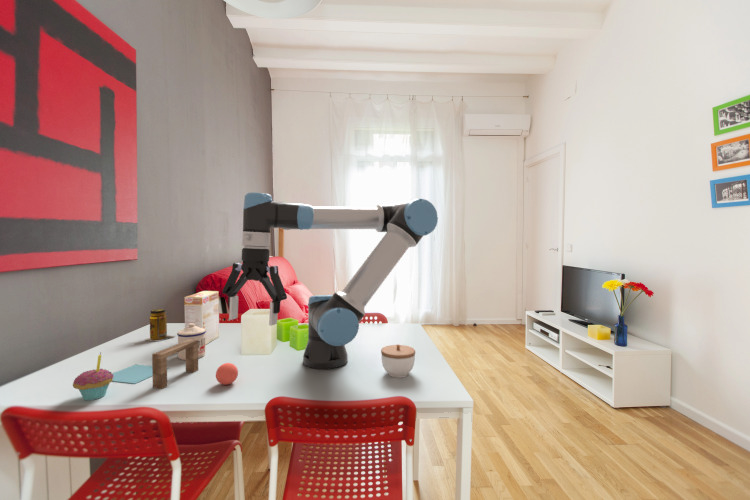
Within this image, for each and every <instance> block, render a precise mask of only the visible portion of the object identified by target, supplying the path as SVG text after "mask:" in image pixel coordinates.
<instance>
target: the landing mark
mask: <svg viewBox="0 0 750 500" xmlns="http://www.w3.org/2000/svg"><path fill="white" fill-rule="evenodd" d="M169 369H170V367H167V370H169ZM112 374H113V376H114V377H113V379H112V382H115V383H124V384H131V385H136V384H138V383H140V382H143V381H145V380H147V379H150V378H151V377H152V378H153V371H152V365H145V364H134V365H133V364H132V365H131V366H127V367H126V368H123V369H121V370H118V371H115V372H113V373H112Z"/></svg>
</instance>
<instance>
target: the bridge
mask: <svg viewBox="0 0 750 500" xmlns="http://www.w3.org/2000/svg"><path fill="white" fill-rule="evenodd" d="M184 349H185V350H186V360H185V372H189V373H196V372H197V371H199V358H198V340H191V339H190V340H187V341H184V342H182V343H179V344H178V343H177V344H174V345H171V346H170V347H167V348H164V349H162V350H159V351H157V352H153V353H152V354H151V358H152V359H151V360H152V361H151V362H152V363H151V364H152V365H151V366H152V371H153V376H152V388H153V389H158V390H159V389H161V390H162V389H165V388H167V387H168V369H167V368H168V357H170V356H173V355H174V354H178V352H179V351H182V350H184Z"/></svg>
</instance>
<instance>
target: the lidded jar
mask: <svg viewBox="0 0 750 500" xmlns="http://www.w3.org/2000/svg"><path fill="white" fill-rule="evenodd" d="M380 355H381V364H382V368H383V369H384V371H385V372H386V373H387V375H388V376H389V377H392V378H396V379H397V378H399V379H400V378H405V377H407V376H408V374H410V372H411V371H412V370H413V368H414V365H415V362H416V361H415V360H416V357H415V356H416V350H415V348H414V347H412V346H409V345H404V344H400V343H397V344H391V345H390V344H389V345H385V346H383V347H382V348H381V350H380Z"/></svg>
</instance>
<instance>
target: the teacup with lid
mask: <svg viewBox="0 0 750 500" xmlns="http://www.w3.org/2000/svg"><path fill="white" fill-rule="evenodd" d="M205 332H206V331H205V329H204V328H199V327H198V326H195V324H194V323H191V324H189V325H188V327H186V328H185V327H184V328H183V329H180V330H178V332H177V334H176V335H177V344H179V343H182V342H184V341H187V340H190V339H191V340H198V359H200V358H203V357H204V356H206V345H205ZM177 357H178V359H179V360H182V361H186V350H185V349H184V350H182V351H179V352H177Z"/></svg>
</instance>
